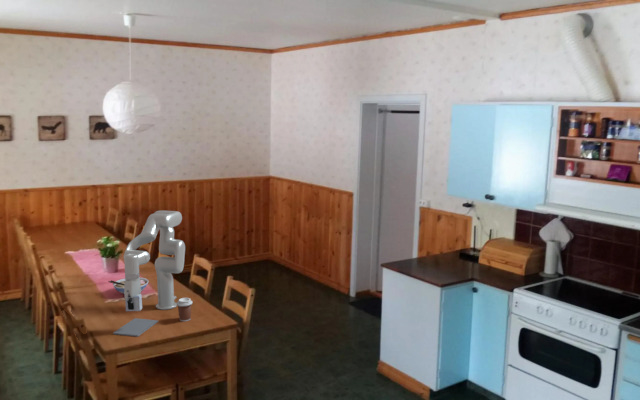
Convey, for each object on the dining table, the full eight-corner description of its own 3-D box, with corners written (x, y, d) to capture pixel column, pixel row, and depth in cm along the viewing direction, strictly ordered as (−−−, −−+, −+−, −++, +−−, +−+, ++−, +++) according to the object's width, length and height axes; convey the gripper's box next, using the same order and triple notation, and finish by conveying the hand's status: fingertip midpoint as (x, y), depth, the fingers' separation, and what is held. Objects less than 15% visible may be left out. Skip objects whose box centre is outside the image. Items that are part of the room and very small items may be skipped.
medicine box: (142, 308, 318) (141, 293, 317) (140, 311, 314) (139, 296, 312) (128, 308, 318) (127, 293, 316) (125, 311, 313) (124, 296, 312)
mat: (134, 319, 331) (134, 318, 331) (158, 321, 327) (158, 320, 327) (113, 334, 310) (113, 332, 310) (137, 336, 306) (137, 335, 306)
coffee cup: (176, 317, 334) (175, 298, 332) (192, 315, 337) (191, 296, 335) (178, 323, 325) (177, 303, 323) (194, 321, 329) (193, 301, 327)
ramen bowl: (157, 291, 380) (157, 279, 379) (130, 301, 361) (129, 289, 360) (132, 285, 393) (132, 273, 392) (104, 294, 374) (103, 282, 373)
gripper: (134, 271, 322) (136, 302, 325) (117, 280, 305) (119, 312, 308) (146, 272, 320) (148, 303, 323) (130, 281, 303) (131, 313, 306)
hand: (134, 307), depth 315 cm, fingers closed on medicine box, 5 cm apart
